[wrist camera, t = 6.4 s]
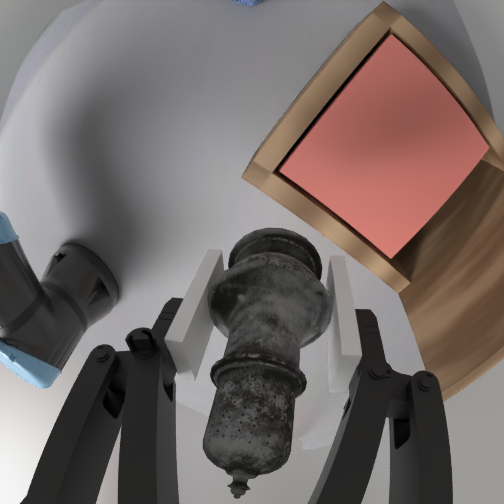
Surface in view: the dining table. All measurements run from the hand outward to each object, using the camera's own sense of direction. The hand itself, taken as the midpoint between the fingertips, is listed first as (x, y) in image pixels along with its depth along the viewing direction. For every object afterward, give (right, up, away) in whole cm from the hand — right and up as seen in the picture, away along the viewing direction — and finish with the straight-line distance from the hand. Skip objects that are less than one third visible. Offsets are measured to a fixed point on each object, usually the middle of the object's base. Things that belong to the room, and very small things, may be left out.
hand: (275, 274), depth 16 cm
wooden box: (+14, +14, +13) cm, 23 cm away
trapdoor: (+11, +10, +5) cm, 15 cm away
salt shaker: (0, 0, 0) cm, 1 cm away
